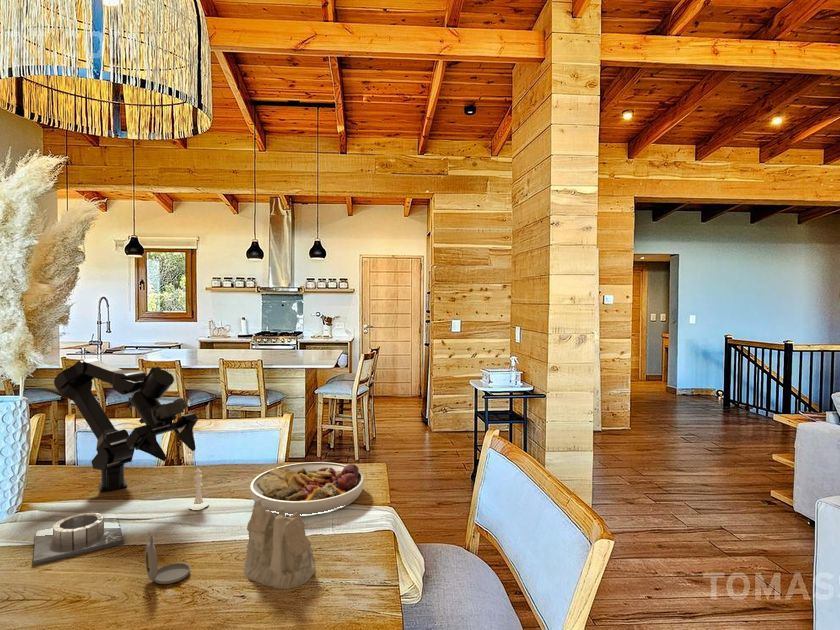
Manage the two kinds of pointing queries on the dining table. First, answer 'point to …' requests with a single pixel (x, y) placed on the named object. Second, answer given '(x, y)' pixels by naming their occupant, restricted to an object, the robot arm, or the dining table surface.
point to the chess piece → (198, 487)
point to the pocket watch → (166, 572)
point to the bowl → (308, 487)
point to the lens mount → (76, 538)
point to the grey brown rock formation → (278, 549)
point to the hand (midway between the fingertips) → (180, 454)
